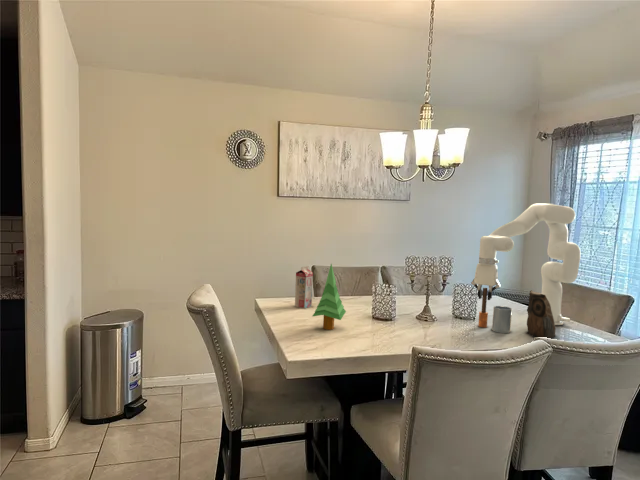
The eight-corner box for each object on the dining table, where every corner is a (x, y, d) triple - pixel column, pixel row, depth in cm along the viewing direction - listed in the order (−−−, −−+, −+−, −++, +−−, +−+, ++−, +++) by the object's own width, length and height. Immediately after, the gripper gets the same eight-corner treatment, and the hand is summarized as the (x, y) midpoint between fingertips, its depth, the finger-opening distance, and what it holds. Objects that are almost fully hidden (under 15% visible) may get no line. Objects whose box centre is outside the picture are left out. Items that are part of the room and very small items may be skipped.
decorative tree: (348, 332, 200) (351, 265, 198) (313, 332, 197) (316, 264, 195) (342, 324, 213) (345, 261, 211) (309, 324, 211) (311, 260, 208)
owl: (546, 340, 199) (549, 296, 198) (517, 334, 208) (520, 291, 207) (556, 336, 208) (560, 293, 207) (528, 329, 217) (531, 288, 216)
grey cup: (511, 330, 215) (513, 307, 214) (508, 334, 208) (509, 310, 207) (494, 327, 219) (495, 305, 218) (490, 330, 213) (491, 307, 212)
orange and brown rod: (487, 326, 221) (490, 287, 219) (485, 327, 218) (488, 289, 216) (479, 324, 223) (482, 286, 222) (477, 326, 220) (479, 287, 218)
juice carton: (311, 306, 249) (313, 266, 247) (304, 308, 243) (306, 267, 242) (301, 304, 252) (303, 265, 251) (294, 306, 247) (296, 266, 245)
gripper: (506, 262, 216) (504, 300, 218) (471, 259, 226) (469, 295, 227) (503, 264, 210) (500, 303, 212) (467, 260, 220) (465, 297, 221)
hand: (484, 298), depth 219 cm, fingers open, 3 cm apart
